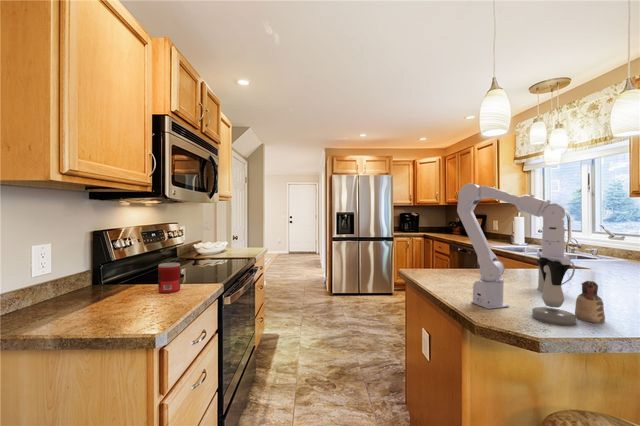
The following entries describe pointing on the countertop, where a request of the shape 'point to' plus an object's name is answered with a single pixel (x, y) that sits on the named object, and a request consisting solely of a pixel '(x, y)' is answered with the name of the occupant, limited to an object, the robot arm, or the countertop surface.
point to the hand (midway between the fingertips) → (552, 283)
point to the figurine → (589, 304)
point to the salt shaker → (552, 291)
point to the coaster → (554, 316)
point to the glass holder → (541, 281)
